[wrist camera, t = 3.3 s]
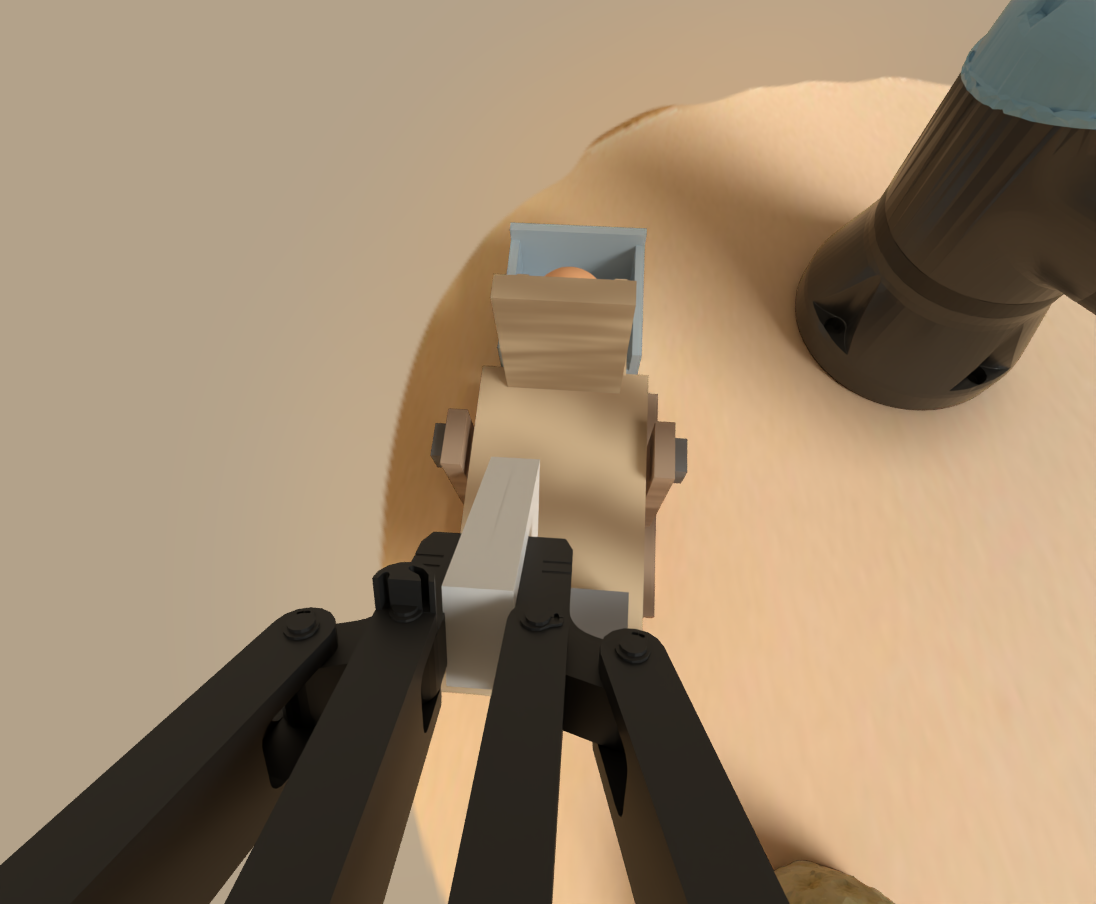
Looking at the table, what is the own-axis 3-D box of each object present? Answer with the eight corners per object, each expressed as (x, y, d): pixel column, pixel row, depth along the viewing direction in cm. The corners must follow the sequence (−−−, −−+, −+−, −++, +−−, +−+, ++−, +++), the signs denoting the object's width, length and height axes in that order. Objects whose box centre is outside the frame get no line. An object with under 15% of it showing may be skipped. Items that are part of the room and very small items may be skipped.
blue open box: (633, 391, 43) (643, 347, 37) (504, 383, 43) (495, 339, 38) (636, 283, 46) (646, 228, 40) (517, 278, 47) (510, 222, 41)
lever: (637, 708, 28) (670, 718, 19) (443, 691, 28) (390, 693, 20) (647, 303, 35) (673, 182, 27) (496, 296, 36) (474, 174, 27)
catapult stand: (657, 618, 37) (690, 594, 27) (448, 601, 38) (408, 572, 28) (660, 399, 42) (688, 314, 33) (478, 388, 43) (452, 301, 33)
